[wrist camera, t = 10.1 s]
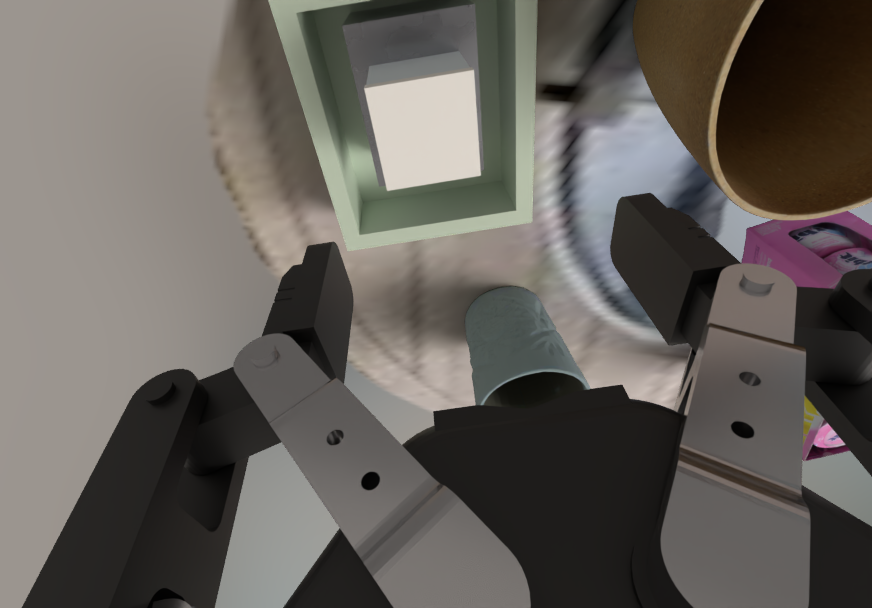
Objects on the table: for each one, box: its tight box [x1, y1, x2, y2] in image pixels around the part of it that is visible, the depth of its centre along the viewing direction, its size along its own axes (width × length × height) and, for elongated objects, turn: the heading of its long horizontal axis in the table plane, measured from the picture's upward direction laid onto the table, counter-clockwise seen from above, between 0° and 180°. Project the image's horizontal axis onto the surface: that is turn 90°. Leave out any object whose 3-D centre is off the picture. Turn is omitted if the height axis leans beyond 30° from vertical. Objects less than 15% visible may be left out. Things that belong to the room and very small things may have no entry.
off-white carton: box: [364, 51, 481, 191], centre depth 23 cm, size 5×5×5 cm
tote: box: [268, 0, 538, 251], centre depth 29 cm, size 14×16×6 cm
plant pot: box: [633, 0, 872, 220], centre depth 23 cm, size 15×15×16 cm
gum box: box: [741, 211, 872, 461], centre depth 42 cm, size 24×8×14 cm, turn 21°
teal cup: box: [465, 286, 590, 409], centre depth 41 cm, size 10×10×12 cm
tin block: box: [342, 0, 484, 187], centre depth 27 cm, size 7×9×6 cm
